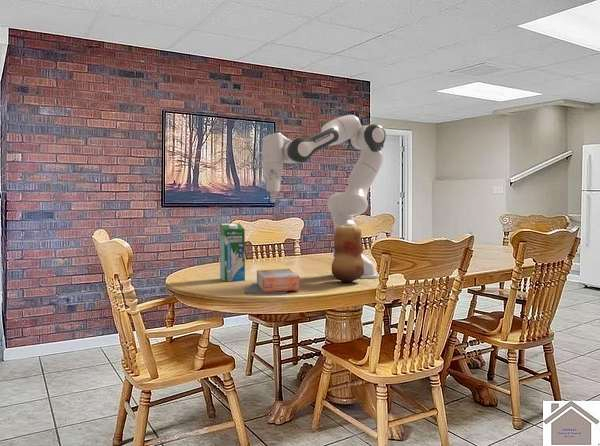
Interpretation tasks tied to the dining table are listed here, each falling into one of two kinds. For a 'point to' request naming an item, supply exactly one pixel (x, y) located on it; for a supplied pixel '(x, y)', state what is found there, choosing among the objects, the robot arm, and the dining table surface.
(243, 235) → the milk carton
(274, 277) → the cracker box
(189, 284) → the dining table surface
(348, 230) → the butternut squash
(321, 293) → the dining table surface
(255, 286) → the mat
